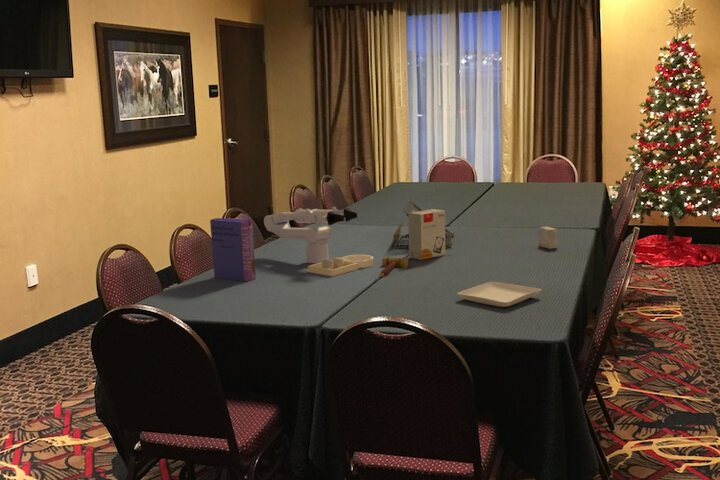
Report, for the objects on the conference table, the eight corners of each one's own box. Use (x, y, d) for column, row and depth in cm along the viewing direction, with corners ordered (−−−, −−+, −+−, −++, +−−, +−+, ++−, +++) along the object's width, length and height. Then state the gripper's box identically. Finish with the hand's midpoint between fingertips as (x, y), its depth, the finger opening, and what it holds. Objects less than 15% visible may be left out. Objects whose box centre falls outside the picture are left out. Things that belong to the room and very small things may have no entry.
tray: (308, 273, 319) (307, 265, 319) (334, 266, 330) (334, 259, 330) (332, 277, 310) (331, 270, 309) (358, 270, 321) (358, 263, 320)
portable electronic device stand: (451, 249, 357) (451, 210, 354) (391, 250, 361) (389, 211, 358) (454, 236, 389) (454, 199, 386) (398, 236, 393) (397, 200, 390)
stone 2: (330, 269, 322) (330, 258, 321) (338, 267, 325) (338, 256, 324) (338, 270, 319) (338, 260, 318) (346, 268, 322) (345, 258, 321)
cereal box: (255, 279, 313) (252, 219, 309) (248, 281, 309) (244, 221, 305) (222, 275, 322) (217, 217, 318) (214, 277, 318) (210, 219, 314)
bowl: (335, 267, 329) (335, 258, 328) (357, 261, 338) (357, 253, 337) (358, 271, 320) (358, 262, 319) (379, 265, 329) (379, 257, 328)
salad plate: (455, 301, 270) (455, 292, 269) (492, 289, 285) (492, 280, 284) (506, 312, 255) (506, 302, 254) (542, 298, 270) (542, 288, 269)
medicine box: (557, 248, 349) (557, 229, 347) (548, 249, 347) (549, 230, 346) (546, 245, 356) (547, 226, 355) (538, 246, 355) (538, 227, 353)
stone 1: (320, 272, 318) (319, 261, 317) (328, 270, 321) (327, 259, 320) (327, 273, 315) (327, 262, 314) (335, 271, 318) (335, 260, 317)
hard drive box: (420, 260, 335) (419, 214, 331) (408, 258, 340) (407, 212, 337) (446, 254, 344) (445, 209, 341) (433, 252, 350) (433, 208, 346)
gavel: (392, 271, 305) (368, 270, 308) (393, 282, 306) (369, 281, 309) (408, 256, 324) (385, 255, 327) (408, 266, 325) (385, 266, 328)
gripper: (313, 209, 325) (336, 209, 316) (338, 204, 336) (361, 204, 326) (315, 226, 326) (338, 226, 317) (340, 220, 337) (362, 221, 327)
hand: (350, 216), depth 322 cm, fingers open, 7 cm apart
